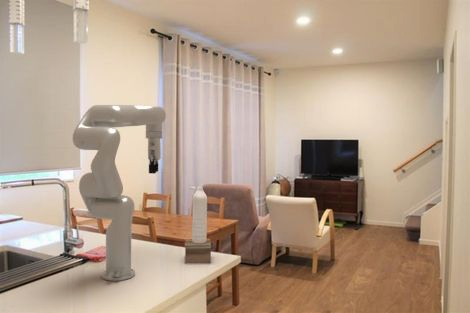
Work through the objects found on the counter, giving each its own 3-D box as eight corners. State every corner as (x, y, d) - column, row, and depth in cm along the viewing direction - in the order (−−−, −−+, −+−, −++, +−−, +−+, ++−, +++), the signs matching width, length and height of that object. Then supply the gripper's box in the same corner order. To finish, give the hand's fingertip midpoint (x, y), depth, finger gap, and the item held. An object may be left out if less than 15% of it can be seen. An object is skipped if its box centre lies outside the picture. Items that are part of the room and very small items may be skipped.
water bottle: (199, 239, 176) (200, 185, 175) (209, 242, 172) (210, 186, 171) (185, 242, 170) (185, 186, 169) (194, 245, 166) (195, 188, 165)
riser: (210, 263, 167) (211, 245, 167) (184, 263, 166) (185, 245, 165) (209, 255, 178) (210, 238, 178) (185, 256, 177) (185, 238, 177)
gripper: (160, 135, 168) (160, 174, 169) (163, 135, 185) (163, 171, 186) (143, 135, 168) (142, 174, 168) (148, 135, 185) (147, 170, 185)
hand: (153, 172), depth 177 cm, fingers open, 9 cm apart
